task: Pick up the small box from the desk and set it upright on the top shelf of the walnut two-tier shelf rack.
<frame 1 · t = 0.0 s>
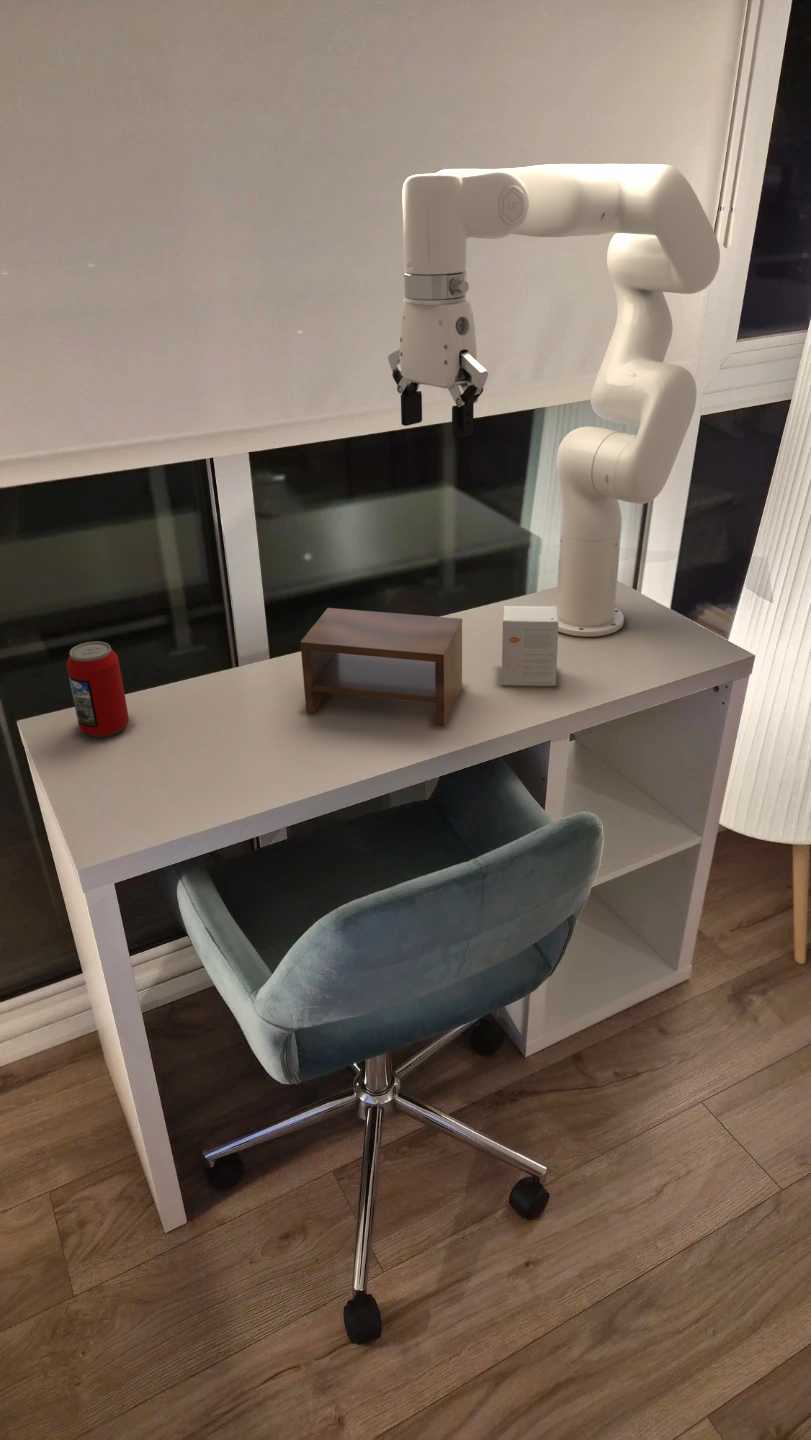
hand: (436, 430, 135), 37 cm above the table, tool pointing down, fingers open, 9 cm apart
shelf rack: (385, 699, 149), on the table
beverage can: (105, 729, 144), on the table
small box: (528, 679, 154), on the table
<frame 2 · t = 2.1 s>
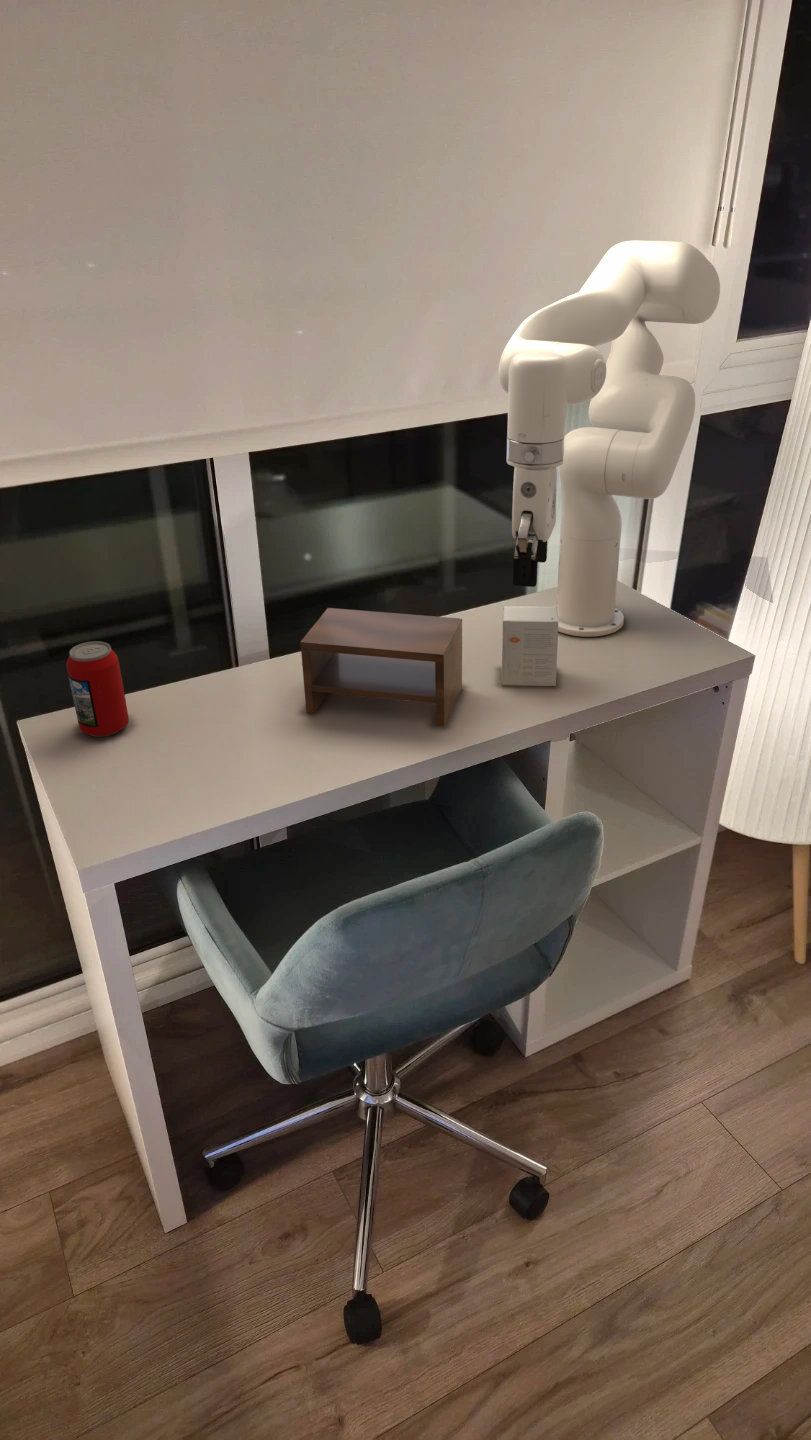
hand: (530, 573, 146), 17 cm above the table, tool pointing down, fingers open, 9 cm apart
nothing on the table moved.
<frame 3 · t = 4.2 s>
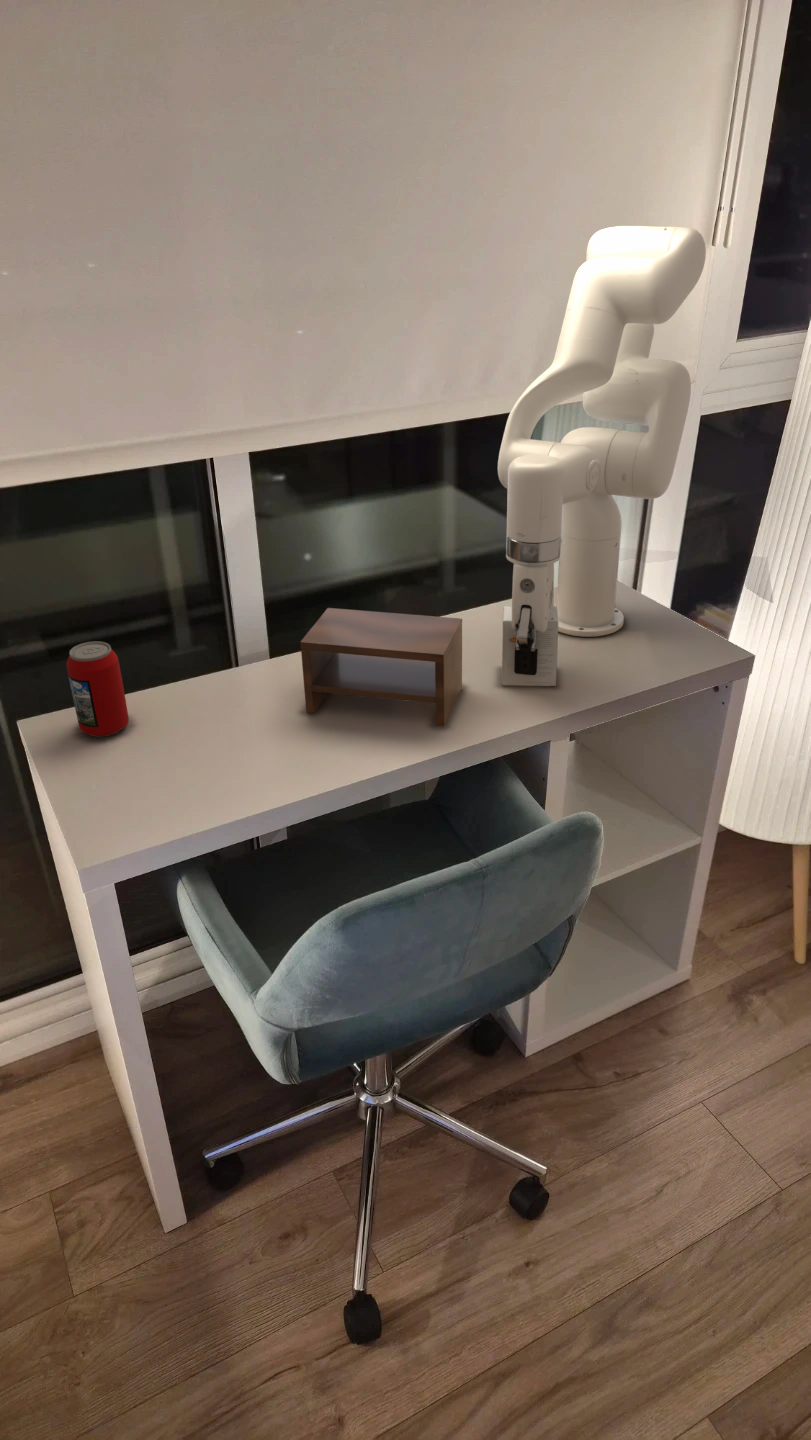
hand: (529, 662, 153), 3 cm above the table, tool pointing down, fingers closed on small box, 6 cm apart
small box: (528, 679, 154), on the table, touching gripper
everything else where it was.
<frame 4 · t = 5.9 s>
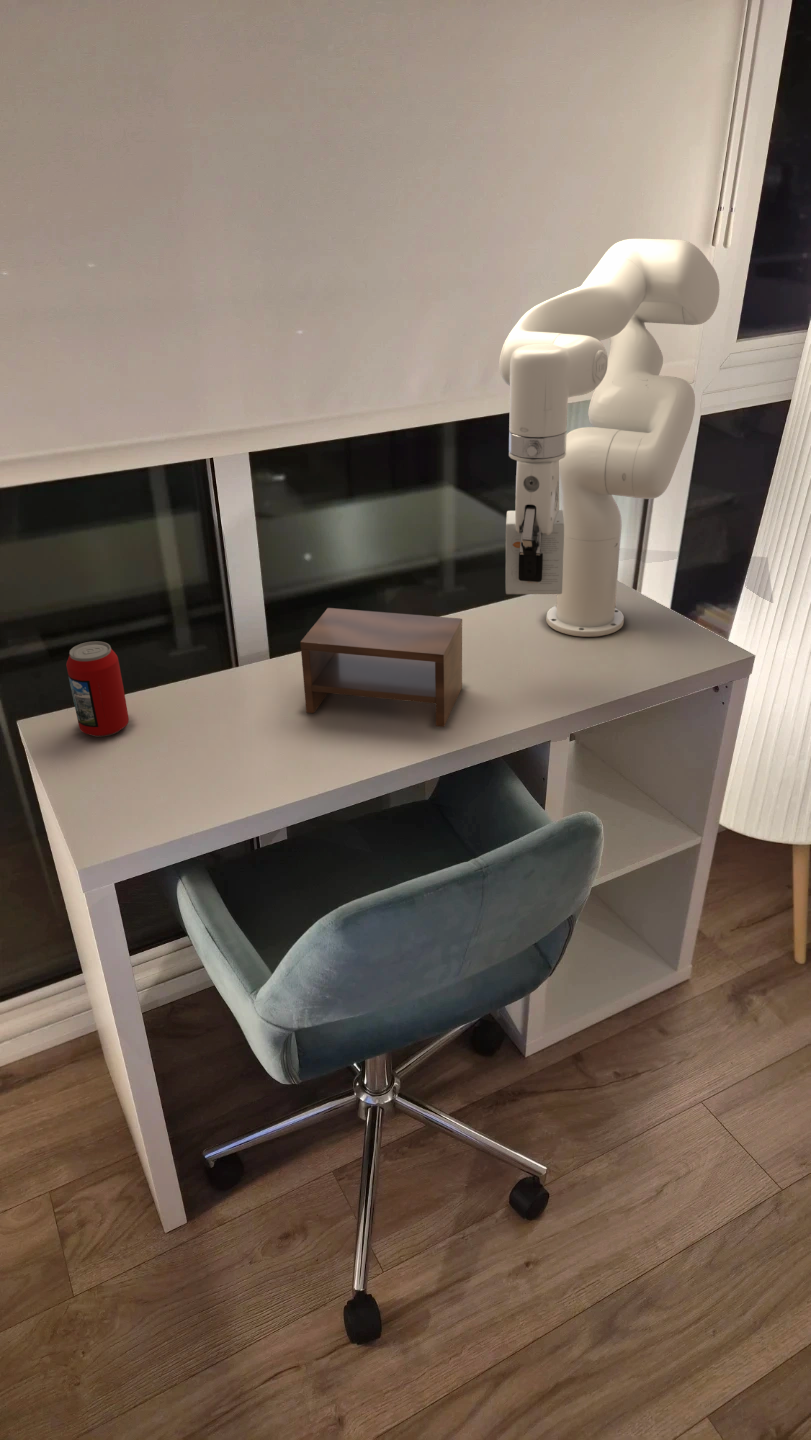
hand: (533, 569, 146), 17 cm above the table, tool pointing down, fingers closed on small box, 6 cm apart
small box: (533, 588, 148), point 14 cm above the table, touching gripper
everything else where it was.
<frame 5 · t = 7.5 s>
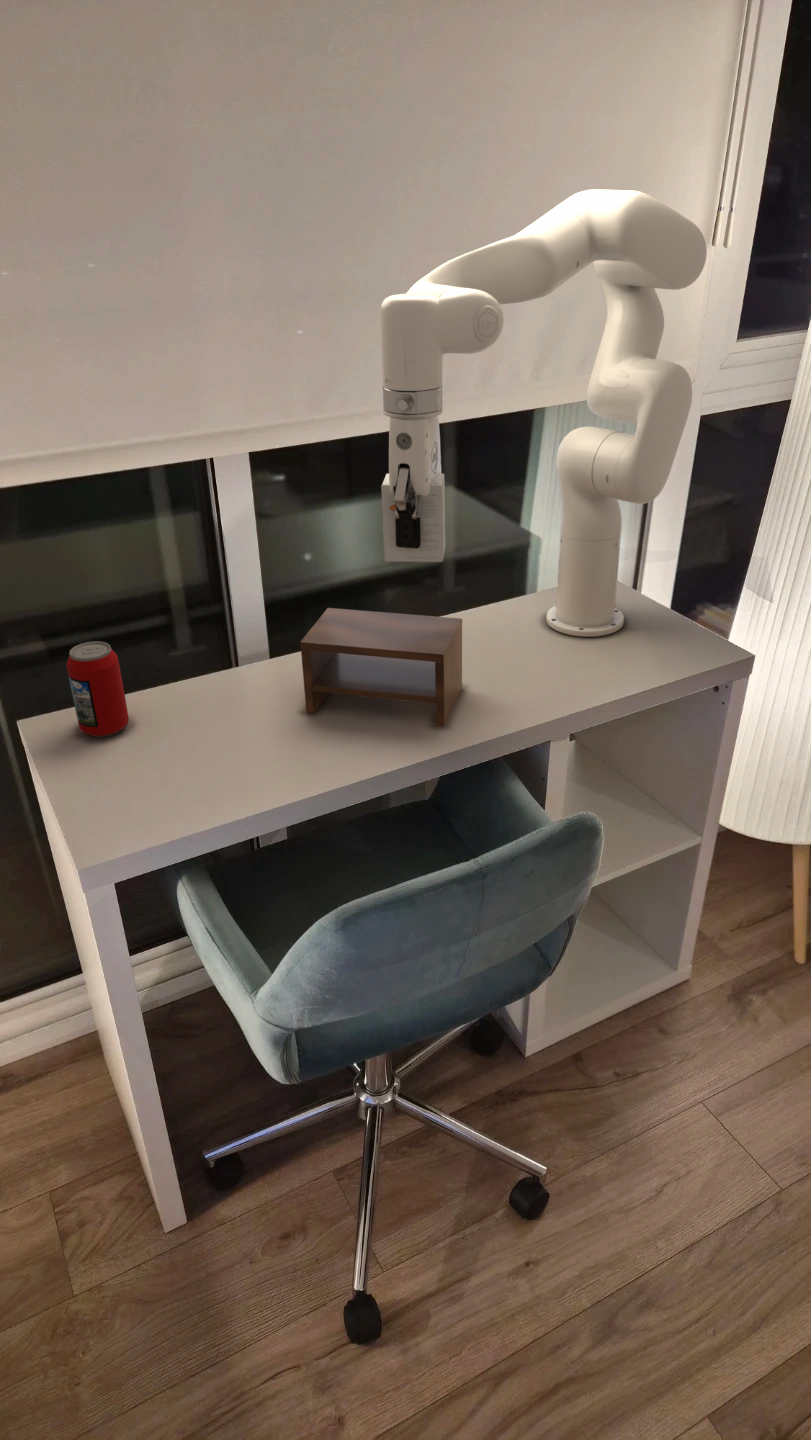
hand: (414, 537, 139), 24 cm above the table, tool pointing down, fingers closed on small box, 6 cm apart
small box: (415, 557, 140), point 21 cm above the table, touching gripper
everything else where it was.
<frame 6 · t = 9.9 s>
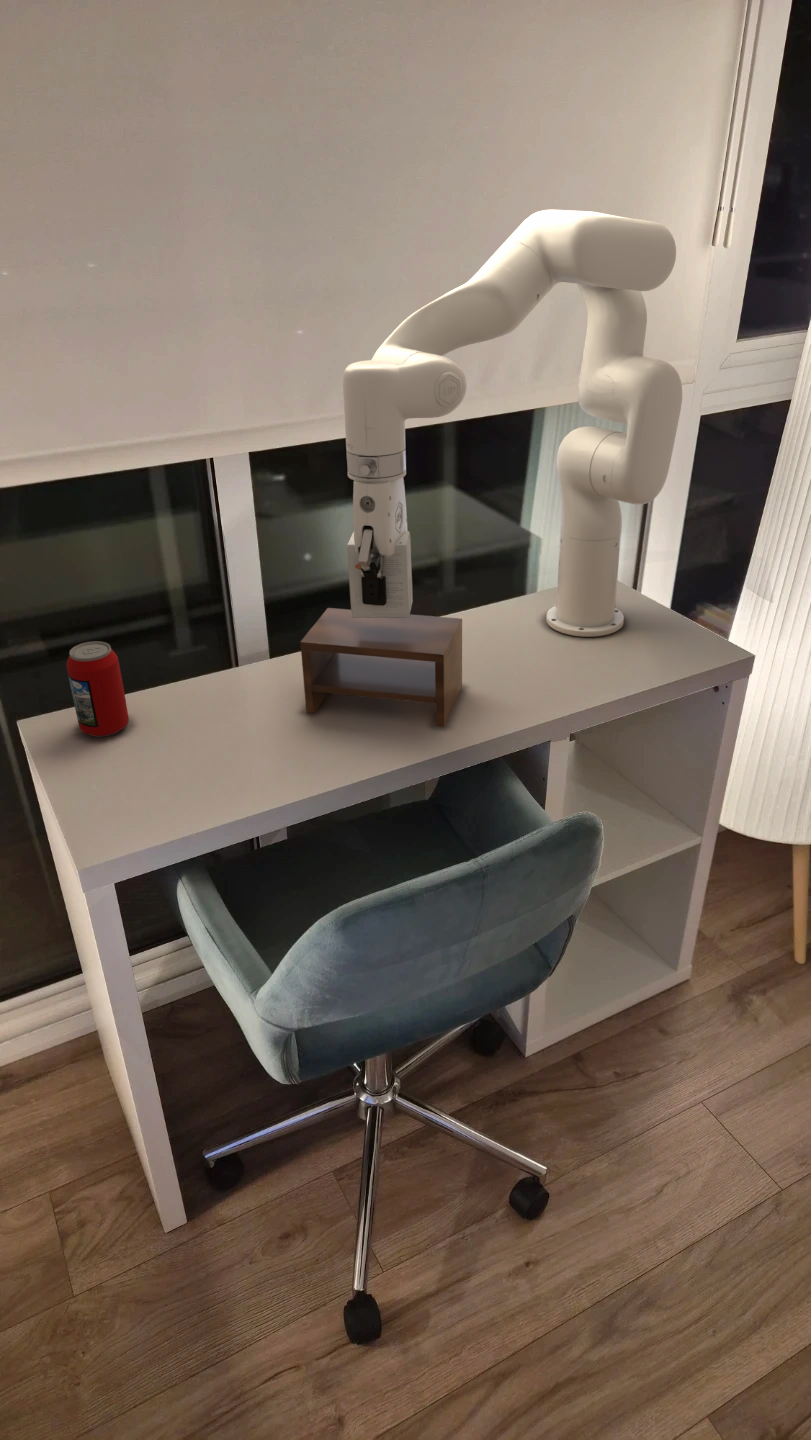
hand: (381, 593, 141), 16 cm above the table, tool pointing down, fingers closed on small box, 6 cm apart
small box: (382, 612, 142), point 14 cm above the table, touching gripper
everything else where it was.
when the fingers open (14 cm above the table, at t = 11.3 s): small box stays where it is, resting on shelf rack.
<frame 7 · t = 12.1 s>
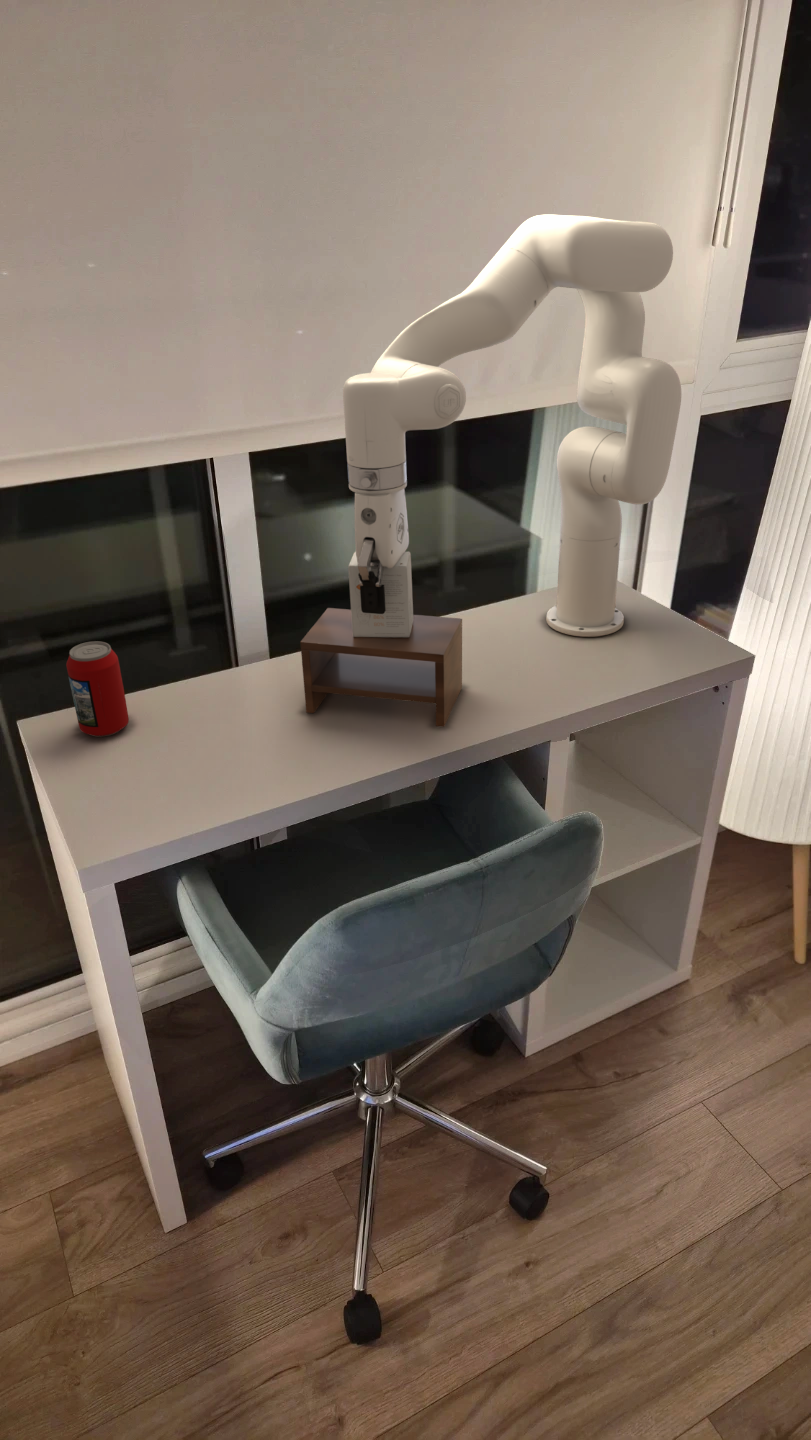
hand: (383, 598, 142), 16 cm above the table, tool pointing down, fingers open, 9 cm apart
small box: (383, 631, 144), point 11 cm above the table, touching shelf rack
everything else where it was.
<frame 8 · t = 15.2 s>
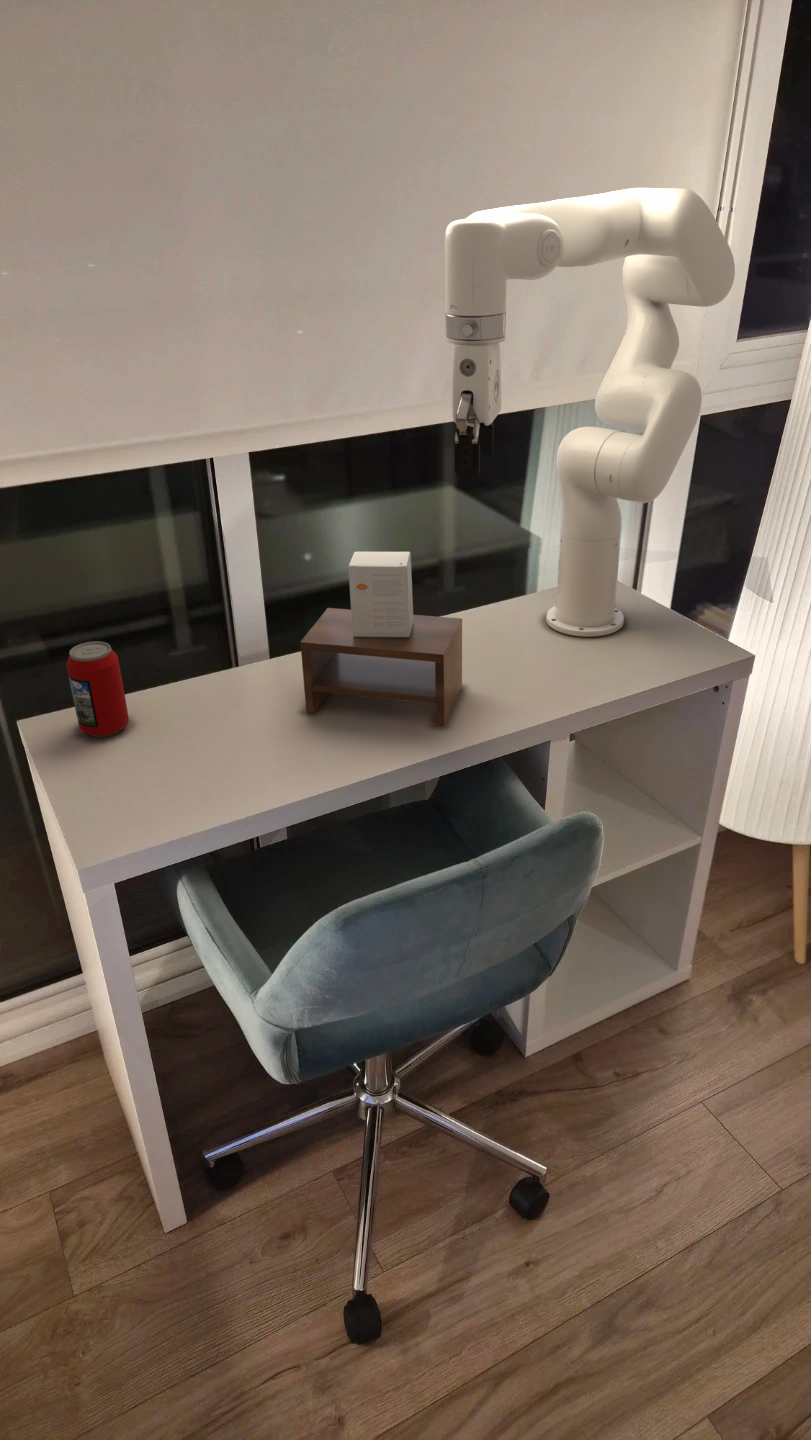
hand: (474, 463, 138), 32 cm above the table, tool pointing down, fingers open, 9 cm apart
nothing on the table moved.
at the end: small box inside the target area on the shelf rack (0.1 cm from its centre), point 10.8 cm above the shelf rack's base; small box tilted 0°; the gripper is holding nothing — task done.
